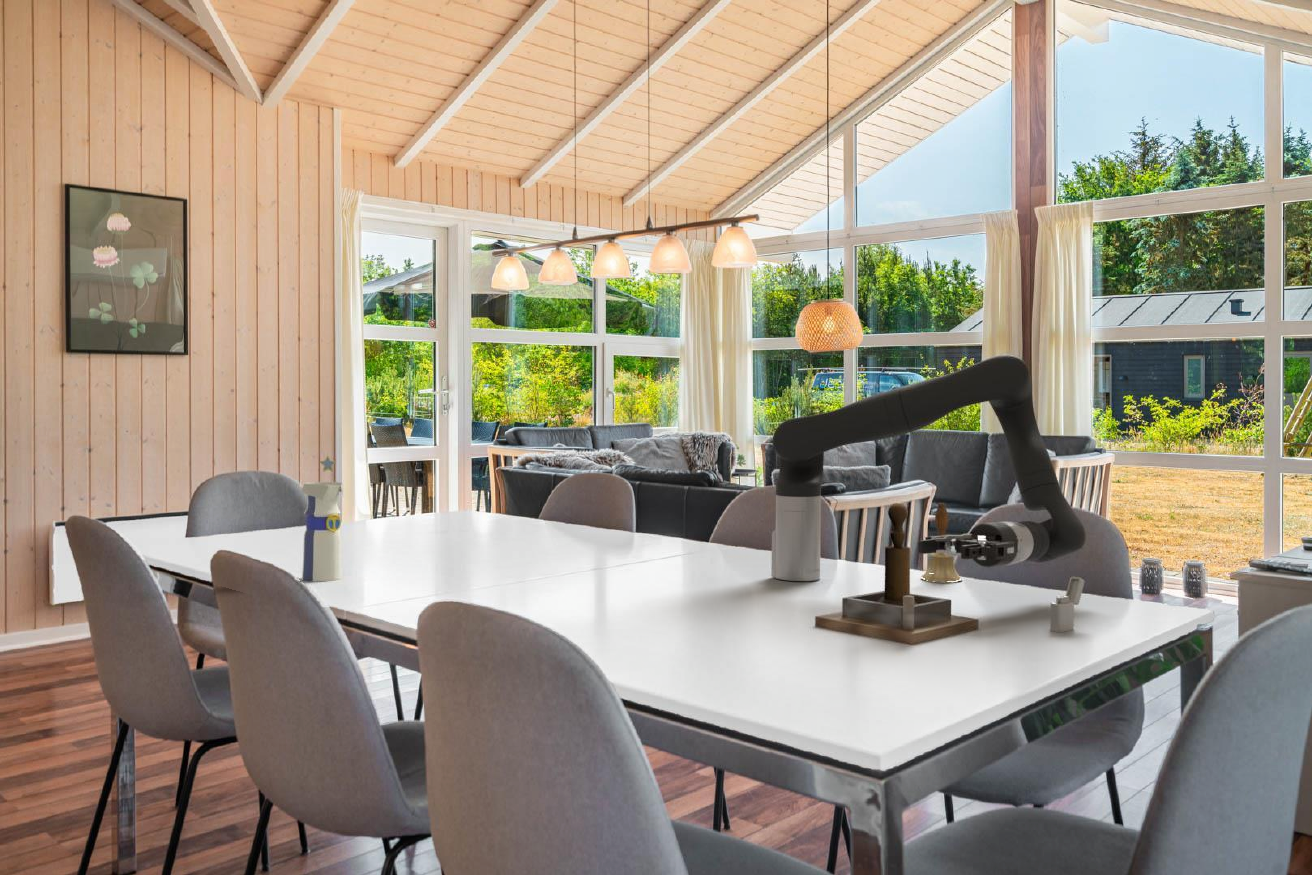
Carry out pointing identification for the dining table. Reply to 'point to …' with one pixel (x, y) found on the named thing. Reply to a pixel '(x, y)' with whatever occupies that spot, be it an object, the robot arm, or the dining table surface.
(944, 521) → the hand bell
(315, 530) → the cream gift bag
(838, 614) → the collar plate
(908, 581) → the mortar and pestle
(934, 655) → the dining table surface
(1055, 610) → the lighter
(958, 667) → the dining table surface
